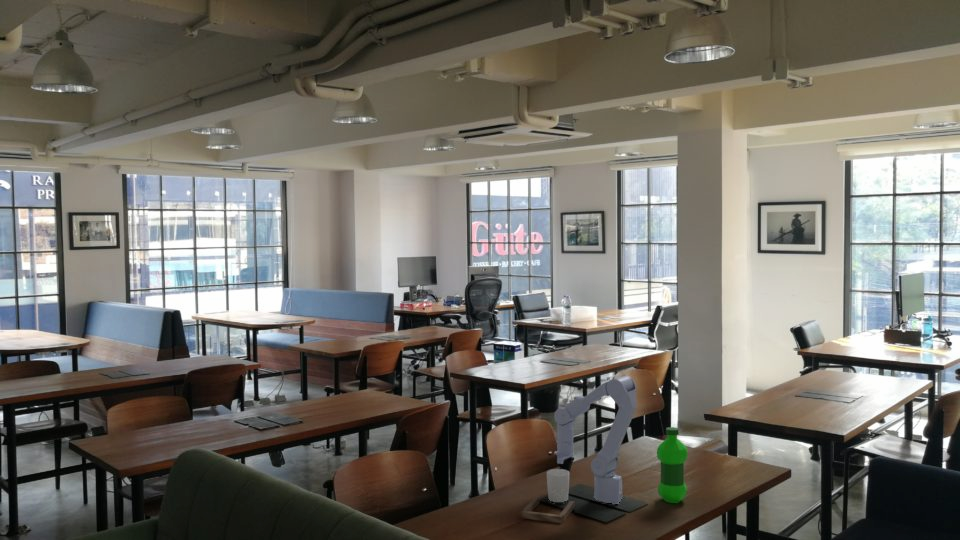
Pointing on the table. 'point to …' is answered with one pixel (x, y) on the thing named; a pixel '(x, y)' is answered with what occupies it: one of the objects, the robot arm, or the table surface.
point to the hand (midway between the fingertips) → (565, 478)
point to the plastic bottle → (672, 467)
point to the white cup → (558, 485)
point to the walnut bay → (560, 518)
